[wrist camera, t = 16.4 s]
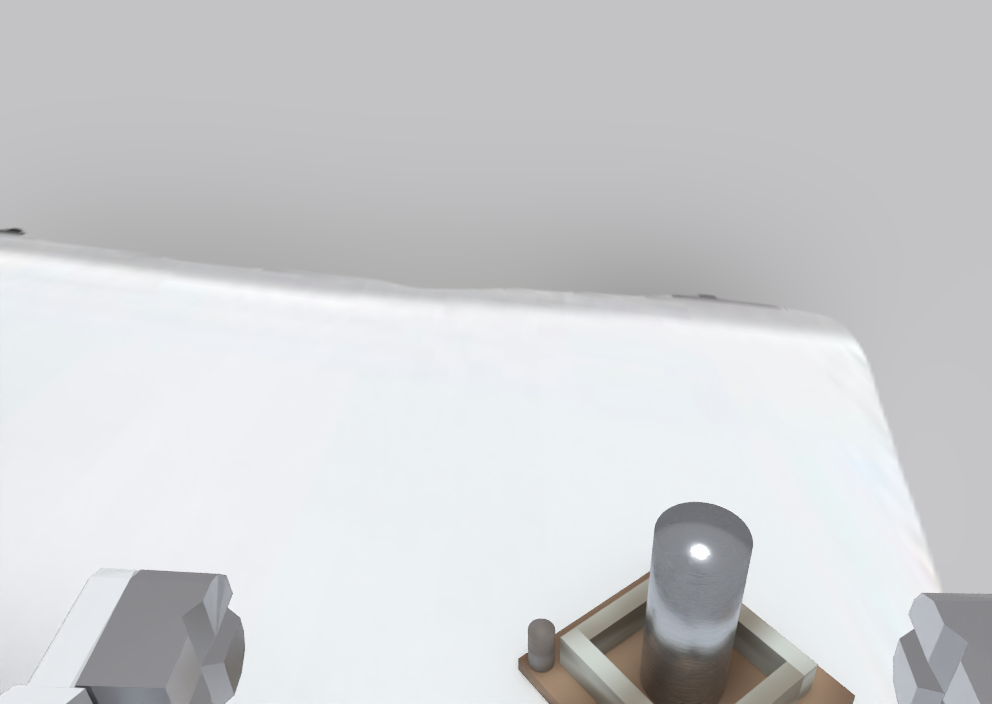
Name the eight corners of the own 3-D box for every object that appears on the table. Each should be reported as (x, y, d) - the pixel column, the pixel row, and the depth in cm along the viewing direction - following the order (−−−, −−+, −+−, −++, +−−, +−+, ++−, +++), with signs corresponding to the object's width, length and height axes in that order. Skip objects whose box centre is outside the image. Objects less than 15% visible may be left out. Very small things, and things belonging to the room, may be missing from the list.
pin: (622, 671, 52) (634, 529, 45) (680, 629, 54) (700, 489, 48) (683, 732, 49) (706, 589, 42) (742, 684, 51) (773, 542, 44)
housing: (518, 668, 54) (517, 627, 51) (676, 562, 60) (682, 521, 58) (686, 856, 44) (694, 815, 42) (851, 706, 51) (866, 663, 49)
